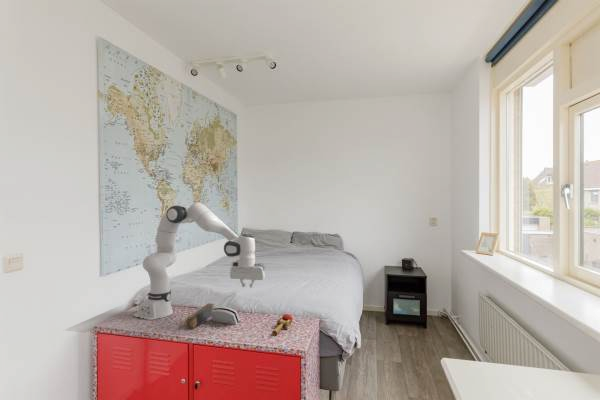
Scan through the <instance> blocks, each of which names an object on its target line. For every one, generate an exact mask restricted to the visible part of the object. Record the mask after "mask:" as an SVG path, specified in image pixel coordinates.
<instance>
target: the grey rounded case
mask: <svg viewBox="0 0 600 400" xmlns="http://www.w3.org/2000/svg"><path fill="white" fill-rule="evenodd" d="M211 315H212V316H211V322H217V323H223V324H231V325H236V326H237V325H238V323H239V322H241V318H240V317H239V315H238V312H237V311H236V309H233V308H230V307H225V306H218V307H214V309H213V310H212V312H211Z"/></svg>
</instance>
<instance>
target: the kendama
mask: <svg viewBox="0 0 600 400" xmlns="http://www.w3.org/2000/svg"><path fill="white" fill-rule="evenodd" d="M292 322H293V317H292V315H291V314H288V313H285V314H284V315H282V317H278V319H277V321H276V326H277V327H276V328H274V329H273V330H272V335H273V336H276V337H277V336H278V334H279V333H280V331H281V330H282V328H283V327H285V329H286V330H289V329H290V328H291V326H292V325H291V324H292ZM289 327H290V328H289ZM288 328H289V329H288Z"/></svg>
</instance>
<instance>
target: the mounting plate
mask: <svg viewBox="0 0 600 400" xmlns="http://www.w3.org/2000/svg"><path fill="white" fill-rule="evenodd" d="M210 304H211V305H209V306H208V307H206V308H205V309H204V310H202V311H201V312H199V313H198V314H197V327H200V326H201V325H202V324H203V323H206V321H207V320H209V319H210V318H212V315H211V312H212V304H213V303H210ZM197 327H196V328H197Z"/></svg>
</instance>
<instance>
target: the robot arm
mask: <svg viewBox="0 0 600 400" xmlns="http://www.w3.org/2000/svg"><path fill="white" fill-rule="evenodd" d="M192 222H194V223H196V225H197V226H198V227H200V228H201V229H202V230H203V231H205V232H209V233H210V232H211V233H216V234H219V235H222V236H223V238H225V239H227V241H226V242H225V243H224V245H223V252H224V254H225V255H226V256H227V257H239V259H237V260H235V261H232V262H231V263H230V264H231V265H230V266H231V267H230V271H229V277H230V279H231V280H232V279H234V280H239V282H240V283H241V287H242V288H245V287H246V283H245V282H244V280H251V281H250V282H251V283H249V288H254V283H255V281H263V280H264V279H265V278H266V273H265V271H266V266H265V264H263V263H260V262H256V255H255V252H256V239H255V237H254V236H253V235H252V234H249V233H244V234H243V233H242V234H240V235H239V233H237V232H235V231H234V230H233V229H232V228H231V227H230V226H229V225H227V224H226V223H225V222H224V221H222V220H221V219H220V218H219V217H217V216H216V214H214V213H213V211H212V210H211V209H210V208H208V207H207V206H206V205H204V204H203V203H201V202H195V203H192V204H191V205H186V204H181V205H172V206H170V207H169V208H168V209H167V210H166V212H165V213H164V214H163V215H162V216H161V218H160V221H159V223H158V226H157V231H156V236H155V244H156V245H157V251H156V252H153V253H151V254H149V255H147V256H146V257H145V258H144V259H143V260H142V267H143V269H144V270H145V271H146V272H147V273H148V277H149V281H150V292H148V293H147V294H146V297H147V298H146V299H145V300H144V301H143V302H142V303H140V304H139V306H138V310H137V311H136V312H135V313H133V317H134V316H135V317H134V318H138V317H140V318H139V319H143V318H144V320H147V321H148V320H149V321H153V320H156V319H161V318H166V317H169V316H171V315H172V314H173V313H174V311H173V308H172V301H171V297H172V290H171V278H170V276H169V275H168V273H167V270H166V269H167V268H168V267H171V266H172V265H173V264H175V262H176V261H177V254H176V252H175V243H176V237H177V234H178V228H179V226H180V224H187V223H192Z"/></svg>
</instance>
